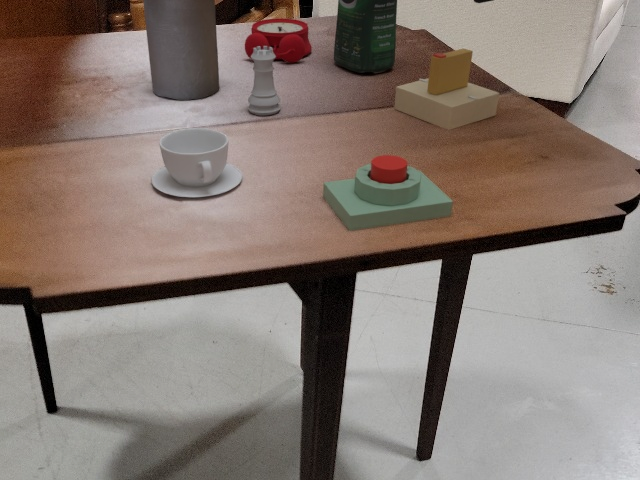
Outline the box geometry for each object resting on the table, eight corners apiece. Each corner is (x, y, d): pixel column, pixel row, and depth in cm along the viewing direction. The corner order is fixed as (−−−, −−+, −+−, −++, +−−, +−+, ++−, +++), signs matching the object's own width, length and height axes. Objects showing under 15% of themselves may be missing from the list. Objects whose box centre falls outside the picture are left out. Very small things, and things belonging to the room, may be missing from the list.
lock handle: (458, 83, 98) (464, 46, 95) (467, 86, 97) (473, 48, 94) (426, 92, 95) (431, 54, 92) (435, 95, 94) (440, 57, 91)
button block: (417, 184, 80) (421, 153, 78) (450, 216, 74) (455, 184, 72) (322, 197, 78) (323, 165, 76) (349, 231, 72) (351, 198, 70)
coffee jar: (402, 70, 113) (416, -68, 101) (360, 78, 110) (369, -64, 98) (365, 54, 119) (374, -77, 108) (325, 62, 116) (329, -73, 105)
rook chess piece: (286, 107, 100) (286, 46, 95) (272, 118, 96) (271, 55, 92) (256, 103, 101) (255, 42, 96) (242, 113, 98) (239, 51, 93)
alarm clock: (316, 19, 123) (305, 19, 109) (314, 59, 125) (303, 64, 112) (255, 17, 124) (237, 17, 111) (254, 57, 127) (237, 62, 113)
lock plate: (496, 115, 97) (500, 91, 95) (448, 130, 93) (452, 106, 91) (440, 95, 103) (443, 72, 101) (393, 108, 99) (395, 85, 97)
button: (397, 169, 76) (398, 153, 75) (411, 183, 73) (413, 166, 72) (364, 173, 75) (366, 157, 74) (378, 187, 72) (379, 171, 71)
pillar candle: (212, 76, 111) (205, -35, 101) (225, 97, 103) (220, -21, 94) (147, 82, 109) (135, -31, 99) (157, 103, 101) (144, -16, 92)
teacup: (143, 171, 83) (138, 130, 80) (226, 158, 86) (224, 118, 83) (164, 208, 76) (159, 165, 73) (254, 192, 79) (253, 150, 76)
